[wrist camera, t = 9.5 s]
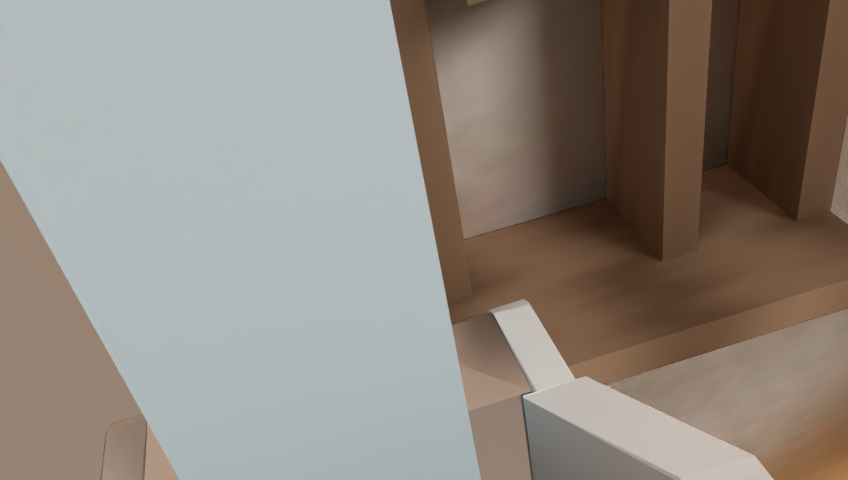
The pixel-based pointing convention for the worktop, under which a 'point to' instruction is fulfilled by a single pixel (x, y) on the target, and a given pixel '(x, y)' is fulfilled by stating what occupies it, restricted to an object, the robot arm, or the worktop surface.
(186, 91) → the pale blue-grey board
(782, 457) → the worktop surface
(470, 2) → the offcut long
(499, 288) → the rack
